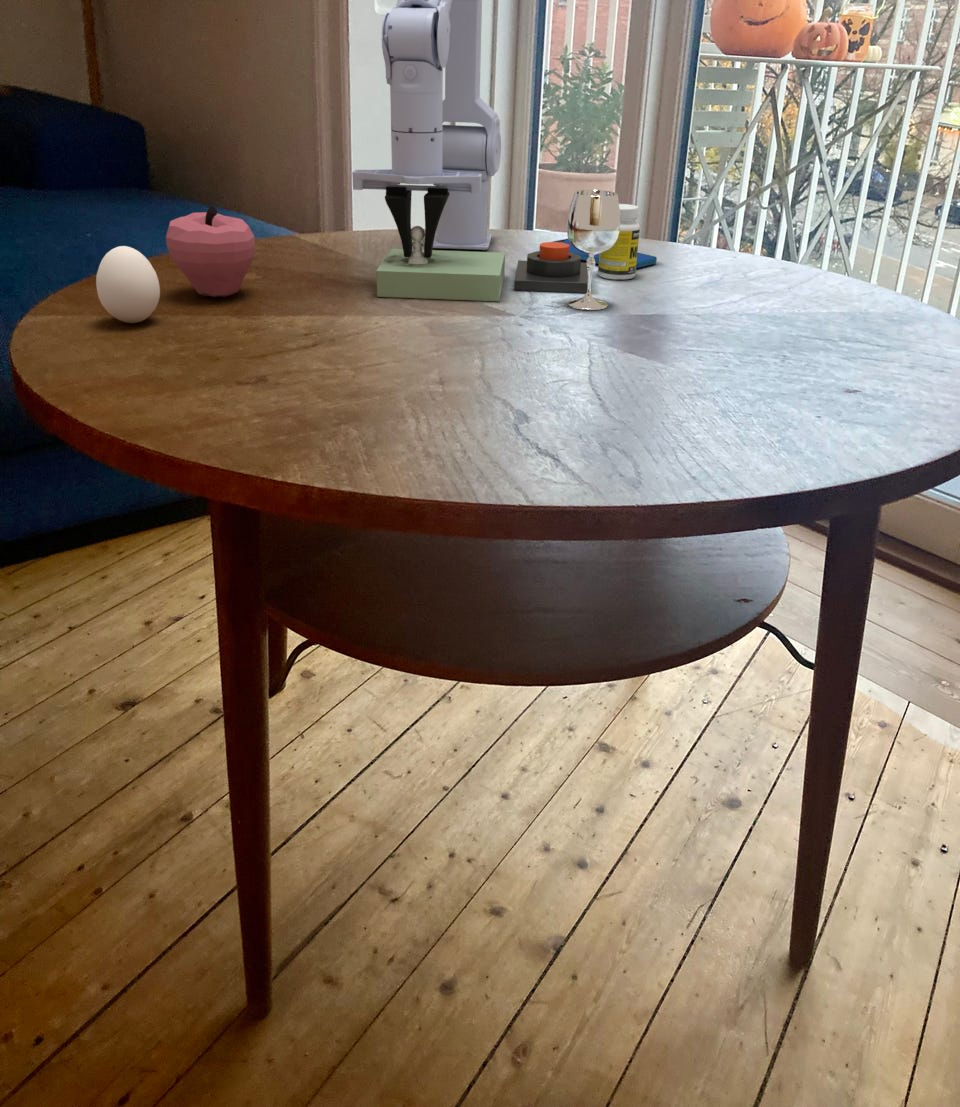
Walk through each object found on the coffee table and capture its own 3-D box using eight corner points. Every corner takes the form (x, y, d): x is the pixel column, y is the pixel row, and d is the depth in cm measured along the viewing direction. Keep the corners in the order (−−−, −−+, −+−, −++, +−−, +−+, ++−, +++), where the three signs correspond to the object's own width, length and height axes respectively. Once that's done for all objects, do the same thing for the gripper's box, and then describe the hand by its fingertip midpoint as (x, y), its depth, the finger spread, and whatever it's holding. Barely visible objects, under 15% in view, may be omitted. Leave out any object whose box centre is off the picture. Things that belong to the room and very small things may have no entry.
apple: (273, 291, 114) (266, 201, 109) (228, 309, 107) (218, 212, 102) (205, 282, 117) (195, 193, 113) (157, 298, 110) (144, 204, 106)
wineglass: (579, 313, 108) (587, 198, 103) (552, 301, 113) (558, 190, 107) (623, 308, 111) (633, 195, 105) (594, 296, 115) (603, 187, 109)
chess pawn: (432, 272, 116) (433, 228, 114) (409, 272, 116) (409, 228, 113) (426, 266, 119) (427, 223, 116) (403, 267, 118) (403, 223, 115)
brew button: (539, 255, 122) (540, 241, 121) (568, 257, 122) (569, 242, 121) (538, 262, 119) (539, 247, 118) (568, 263, 119) (569, 248, 118)
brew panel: (517, 269, 127) (518, 245, 125) (588, 272, 126) (590, 248, 125) (514, 290, 117) (515, 264, 116) (590, 293, 117) (592, 267, 115)
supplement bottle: (633, 281, 122) (640, 210, 118) (595, 279, 123) (601, 208, 119) (636, 273, 126) (642, 204, 122) (599, 270, 127) (604, 202, 123)
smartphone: (626, 265, 126) (538, 244, 135) (625, 273, 127) (537, 251, 136) (660, 257, 131) (572, 237, 140) (659, 264, 131) (572, 244, 140)
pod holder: (392, 273, 123) (391, 248, 122) (504, 277, 123) (505, 252, 121) (376, 297, 113) (376, 270, 112) (499, 301, 112) (499, 274, 111)
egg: (128, 333, 98) (116, 255, 95) (89, 323, 101) (76, 247, 98) (176, 320, 103) (167, 245, 99) (138, 311, 106) (127, 237, 102)
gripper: (345, 132, 107) (350, 260, 113) (479, 136, 106) (476, 265, 112) (357, 126, 113) (361, 248, 119) (483, 129, 112) (481, 252, 119)
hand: (418, 255), depth 116 cm, fingers closed on chess pawn, 2 cm apart
